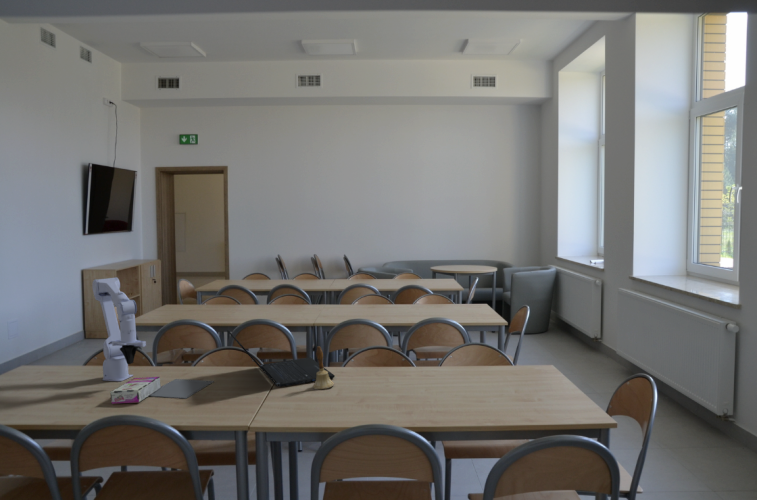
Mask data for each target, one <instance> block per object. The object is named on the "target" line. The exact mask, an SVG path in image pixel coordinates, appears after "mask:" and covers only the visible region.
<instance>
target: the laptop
mask: <svg viewBox="0 0 757 500" xmlns="http://www.w3.org/2000/svg"><path fill="white" fill-rule="evenodd" d="M227 333H228V334H229V335H230V336H231V337H232V338H233V340H234V341H235V342H236V343H237V344H238V345H239V346H240V348H241V349H242V350H243V351H244V352H245V353H246V354H247V355H248V357H250V359H251V360H252V361H253V362H254V363H255V364H256V365H257V366H258V368H259V369H261V371H262V372H263V373H264V374H265V375H266V377H268V378H269V380H270V381H271V382H272V383H273V384H274V385H275V386H276V387H280V388H281V387H283V388H284V387H288V386H294V385H295V386H296V385H301V384H308V383H312V382H313V383H315V382H316V377H317V372H319V371H320V369H319V362H318V361H316V360H315V359H313V358H312V357H309V356H308V357H304V358H303V357H302V358H296V359H289V360H283V361H276V362H270V363H264V364H259V362H258V361H257V360H256V359H255V358H254V357H253V356H252V355H251V354H250V352H249V351H248V350H247V349H246V348H245V347H244V346H243V345H242V344H241V343H240V341H239V339H237V338H236V336H235V335H234V334H233V333H232V332H230V330H228V329H227ZM324 370H325V371H327V372H328V375H329V378H330V380H331V379H334V378H335V375H334V373H332V372H331V371H329V370H328V369H327V368H326V367H324Z"/></svg>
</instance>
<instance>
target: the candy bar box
mask: <svg viewBox="0 0 757 500" xmlns="http://www.w3.org/2000/svg"><path fill="white" fill-rule="evenodd" d="M161 386H162V385H161V377H160V376H147V377H133V378H132V379H130V380H129V381H126V382H125V383H123V384H122V385H119V386H118V387H117V388H115V389H113V390H111V391H110V392H109V393H110V399H111V400H110V401H111V404H112V405H115V404H116V405H117V404H131V403H132V404H133V403H141V402H142V401H143V400H145V399H146V398H148V397H149V395H151V394H152V393H154V392H155V391H157V390H158V389H160V388H161Z"/></svg>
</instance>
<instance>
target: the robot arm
mask: <svg viewBox="0 0 757 500" xmlns="http://www.w3.org/2000/svg"><path fill="white" fill-rule="evenodd" d="M91 286H92V292H93V297H94V300H95V301H98V302H99V303H100V307H101V310H102V315H103V319H104V320H103V321H104V322H105V327H106V333H107V336H108V337H107V338H106V339H105V340H104V342H103V344H102V349H103V356H104V358H105V359H104V361H103V363H102V373H103V374H102V375H103V376H102V377H103V378H102V379H101V380H102V381H107V382H108V381H110V382H123V381H125V380H127V379H129V378H131V377H134V374H129V365H131V364H133V363H134V362H135V361H134V359H135V356H136V353H137V350H138V349H139V347H140V348H144V347H147V341H146V340H139V339H137V329H136V328H137V327H136V326H137V325H136V316H135V315H136V314H137V313H138V312H137V311H138V307H137V303H136V301H135V300H134V299H130V298H129V297H128V296H127V295H126V293H125V292H123V291H121V290H120V289H121V282H120V279H119V278H118V277H117V276H116V277H115V276H114V277H108V278H98V279H97V278H96V279H93V281H92V285H91ZM115 307H116V309H115ZM118 321H119V322H118Z"/></svg>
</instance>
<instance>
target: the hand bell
mask: <svg viewBox="0 0 757 500" xmlns="http://www.w3.org/2000/svg"><path fill="white" fill-rule="evenodd" d="M315 355H316V359H317V363H319V369H320V371H319V372H317V377H316V381H314V383H313V385H312V388H313V389H315V390H326V389H329V388H332V387H333V386H334V385H335V383H334V382H333V381H332V380H331V379H330V378H329V375H328V372H327V371H325V370H324V368H325V367H324V364H323V363H324V353H323V350H322V347H321V346H320V345H319V346H316V352H315Z"/></svg>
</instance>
